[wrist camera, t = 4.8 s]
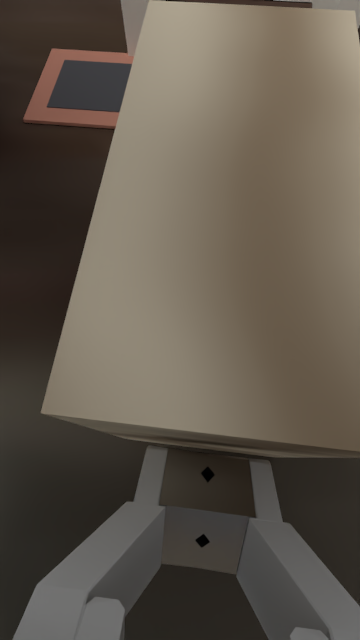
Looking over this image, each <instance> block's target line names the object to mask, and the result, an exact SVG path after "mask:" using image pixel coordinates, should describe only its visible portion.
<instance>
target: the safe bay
mask: <svg viewBox="0 0 360 640" xmlns="http://www.w3.org/2000/svg"><path fill="white" fill-rule="evenodd" d="M155 1H166V0H155ZM275 1H295V2H312V9H330V10H349V11H355V15H356V22H357V29H358V28H359V25H360V0H275ZM148 2H149V0H121V6H122V13H123V21H124V28H125V35H126V42H127V49H128V56H135V52H136V48H137V44H138V40H139V37H140V33H141V29H142V25H143V21H144V18H145V14H146V10H147V6H148Z"/></svg>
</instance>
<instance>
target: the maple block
mask: <svg viewBox="0 0 360 640" xmlns="http://www.w3.org/2000/svg"><path fill="white" fill-rule="evenodd" d="M41 414H44V415H48V416H51V417H54V418H58V419H61V420H64V421H68V422H71V423H74V424H78V425H81V426H84V427H88V428H91V429H94V430H98V431H101V432H104V433H107V434H111V435H114V436H117V437H121V438H124V439H129V440H137V441H145V442H153V443H161V444H169V445H178V446H186V447H194V448H202V449H210V450H218V451H226V452H235V453H243V454H251V455H259V456H267V457H295V458H360V44H359V36H358V29H357V22H356V15H355V11H349V10H330V9H311V8H291V7H272V6H252V5H233V4H213V3H194V2H175V1H155V0H149V2H148V6H147V10H146V14H145V18H144V21H143V25H142V29H141V33H140V37H139V40H138V44H137V48H136V52H135V56H134V59H133V63H132V67H131V71H130V75H129V78H128V82H127V86H126V90H125V94H124V97H123V101H122V105H121V109H120V113H119V116H118V120H117V124H116V128H115V132H114V135H113V139H112V143H111V147H110V151H109V154H108V158H107V162H106V166H105V170H104V173H103V177H102V181H101V185H100V189H99V192H98V196H97V200H96V204H95V208H94V211H93V215H92V219H91V223H90V227H89V231H88V234H87V238H86V242H85V246H84V250H83V253H82V257H81V261H80V265H79V269H78V272H77V276H76V280H75V284H74V288H73V291H72V295H71V299H70V303H69V307H68V310H67V314H66V318H65V322H64V326H63V329H62V333H61V337H60V341H59V345H58V348H57V352H56V356H55V360H54V364H53V367H52V371H51V375H50V379H49V383H48V386H47V390H46V394H45V398H44V402H43V405H42V409H41Z"/></svg>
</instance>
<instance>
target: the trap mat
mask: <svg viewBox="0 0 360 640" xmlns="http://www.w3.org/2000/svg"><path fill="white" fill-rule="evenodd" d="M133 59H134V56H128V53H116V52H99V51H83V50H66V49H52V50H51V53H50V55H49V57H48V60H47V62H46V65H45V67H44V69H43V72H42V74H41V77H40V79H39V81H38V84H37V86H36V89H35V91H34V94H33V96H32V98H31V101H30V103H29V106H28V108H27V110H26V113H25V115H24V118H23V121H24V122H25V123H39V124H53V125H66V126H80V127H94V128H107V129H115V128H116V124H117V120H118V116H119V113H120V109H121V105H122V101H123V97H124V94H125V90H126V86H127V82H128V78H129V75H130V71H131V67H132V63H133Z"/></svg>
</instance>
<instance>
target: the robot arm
mask: <svg viewBox="0 0 360 640" xmlns="http://www.w3.org/2000/svg"><path fill="white" fill-rule="evenodd" d="M161 564H168V565H177V566H185V567H194V568H198V567H199V568H201V569H207V570H213V571H218V572H224V573H230V574H235V575H237V576H236V577H237V579H238V581H239V583H240V585H241V587H242V589H243V591H244V593H245V595H246V597H247V599H248V601H249V603H250V605H251V607H252V608H253V610H254V612H255V614H256V616H257V618H258V620H259V622H260V624H261V626H262V628H263V630H264V632H265V634H266V636H267V638H268V640H360V606H359V605H358V604H357V603H356V601H355V600H354V599H353V598H352V597H351V596H350V594H349V593H348V592H347V591H346V590H345V588H344V587H343V586H342V585H341V584H340V582H339V581H338V580H337V579H336V578H335V577H334V575H333V574H332V573H331V572H330V571H329V569H328V568H327V567H326V566H325V565H324V563H323V562H322V561H321V560H320V559H319V558H318V556H317V555H316V554H315V553H314V552H313V550H312V549H311V548H310V547H309V546H308V544H307V543H306V542H305V541H304V540H303V539H302V537H301V536H300V535H299V534H298V533H297V531H296V530H295V529H294V528H293V527H292V525H291V524H290V523H284V522H283V520H282V515H281V510H280V506H279V501H278V496H277V491H276V487H275V482H274V477H273V472H272V467H271V463H270V462H269V460H262V459H253V458H248V459H247V458H244V457H235V456H226V455H218V454H209V453H200V452H194V451H187V450H181V449H174V448H169V449H168V448H164V447H158V446H151V445H148V447H147V449H146V453H145V457H144V461H143V465H142V469H141V473H140V477H139V481H138V485H137V489H136V493H135V497H134V501H133V502H128V501H127V502H126V503H124V504H123V505H122V506H121V507H120V508H119V509H118V510H117V511H116V512H115V513H114V514H113V515H111V516H110V517H109V518H108V519H107V520H106V521H105V522H104V523H103V524H102V525H101V526H100V527H98V528H97V529H96V530H95V531H94V532H93V533H92V534H91V535H90V536H89V537H88V538H87V539H85V540H84V541H83V542H82V543H81V544H80V545H79V546H78V547H77V548H76V549H75V550H74V551H73V552H71V553H70V554H69V555H68V556H67V557H66V558H65V559H64V560H63V561H62V562H61V563H60V564H58V565H57V566H56V567H55V568H54V569H53V570H52V571H51V572H50V573H49V574H48V575H47V576H45V577H44V578H43V579H42V580H41V581H40V582H39V583H38V584H37V585H36V587H35V590H34V592H33V594H32V596H31V599H30V601H29V603H28V605H27V608H26V610H25V612H24V615H23V617H22V619H21V621H20V624H19V626H18V628H17V630H16V633H15V635H14V637H13V640H124V634H125V617H126V615H127V614H128V613H129V611H130V610H131V608H132V607H133V605H134V604H135V603H136V601H137V600H138V598H139V597H140V595H141V594H142V593H143V591H144V590H145V588H146V587H147V585H148V584H149V583H150V581H151V580H152V578H153V577H154V575H155V574H156V573H157V571H158V570H159V568H160V567H161Z"/></svg>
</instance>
